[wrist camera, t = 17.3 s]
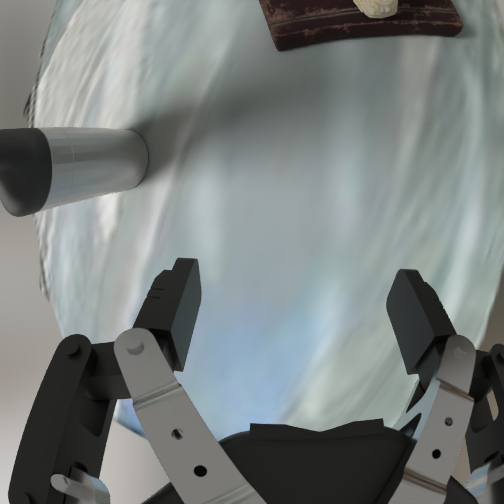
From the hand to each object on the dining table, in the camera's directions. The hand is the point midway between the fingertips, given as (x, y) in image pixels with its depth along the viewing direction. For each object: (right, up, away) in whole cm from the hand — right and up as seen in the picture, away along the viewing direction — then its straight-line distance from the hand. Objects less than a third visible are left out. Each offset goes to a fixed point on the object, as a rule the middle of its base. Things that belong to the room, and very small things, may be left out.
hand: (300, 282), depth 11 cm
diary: (+11, +36, +13) cm, 40 cm away
